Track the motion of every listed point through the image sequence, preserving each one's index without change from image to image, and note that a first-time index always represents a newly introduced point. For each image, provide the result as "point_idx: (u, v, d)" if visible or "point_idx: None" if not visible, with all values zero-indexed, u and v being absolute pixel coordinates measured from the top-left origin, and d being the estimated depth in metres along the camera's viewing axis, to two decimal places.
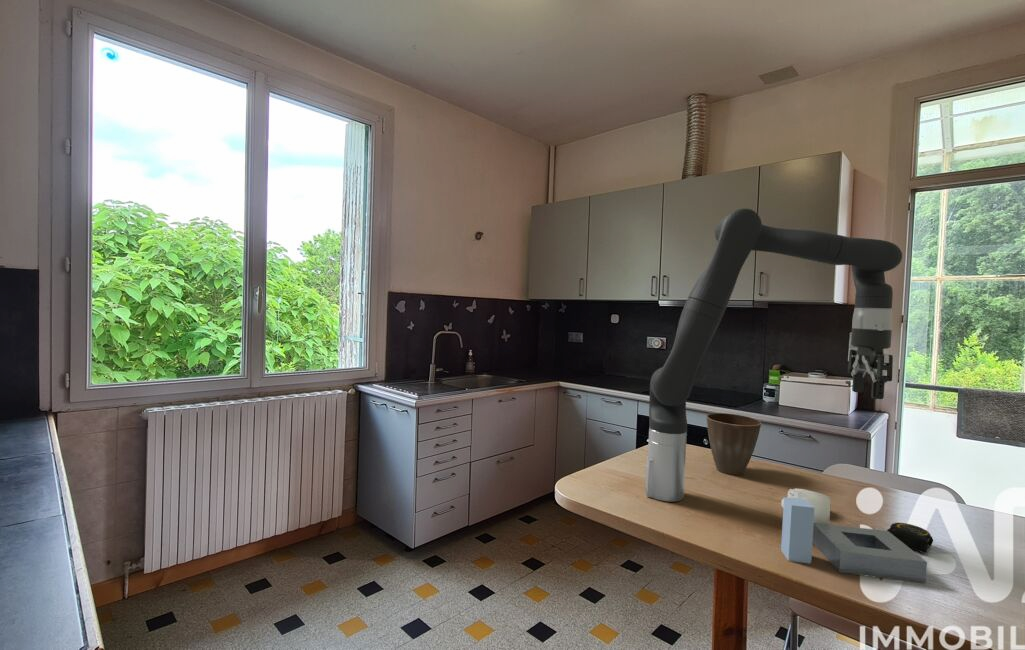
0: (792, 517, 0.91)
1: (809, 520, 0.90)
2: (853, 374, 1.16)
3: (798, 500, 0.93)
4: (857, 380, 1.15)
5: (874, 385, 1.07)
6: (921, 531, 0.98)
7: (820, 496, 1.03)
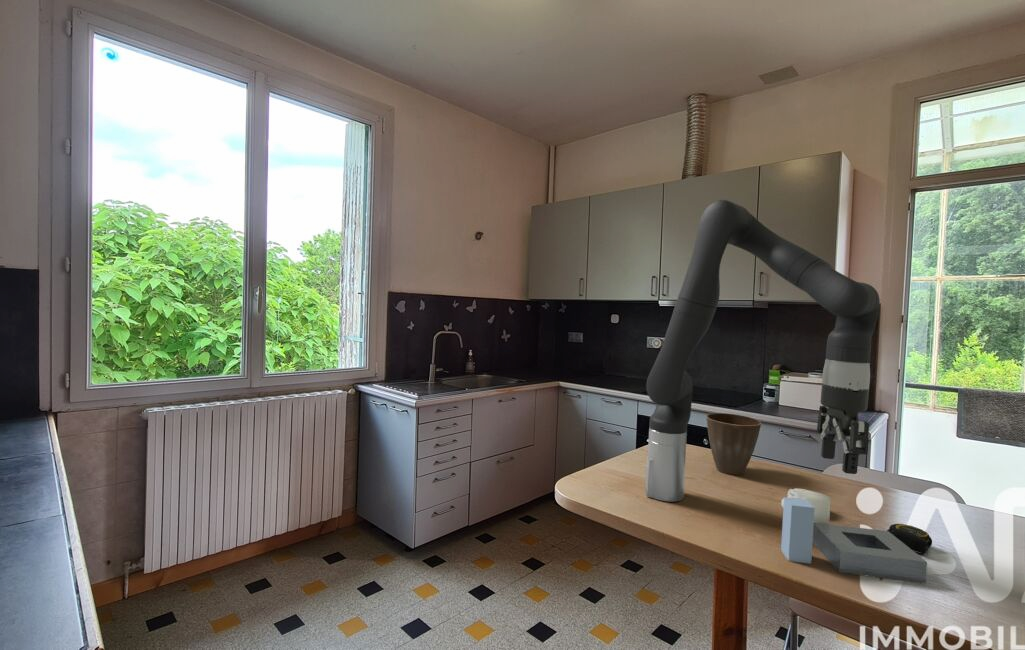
0: (792, 517, 0.91)
1: (809, 520, 0.90)
2: (823, 436, 0.96)
3: (798, 500, 0.93)
4: (827, 444, 0.96)
5: (846, 457, 0.88)
6: (920, 532, 0.97)
7: (820, 496, 1.03)
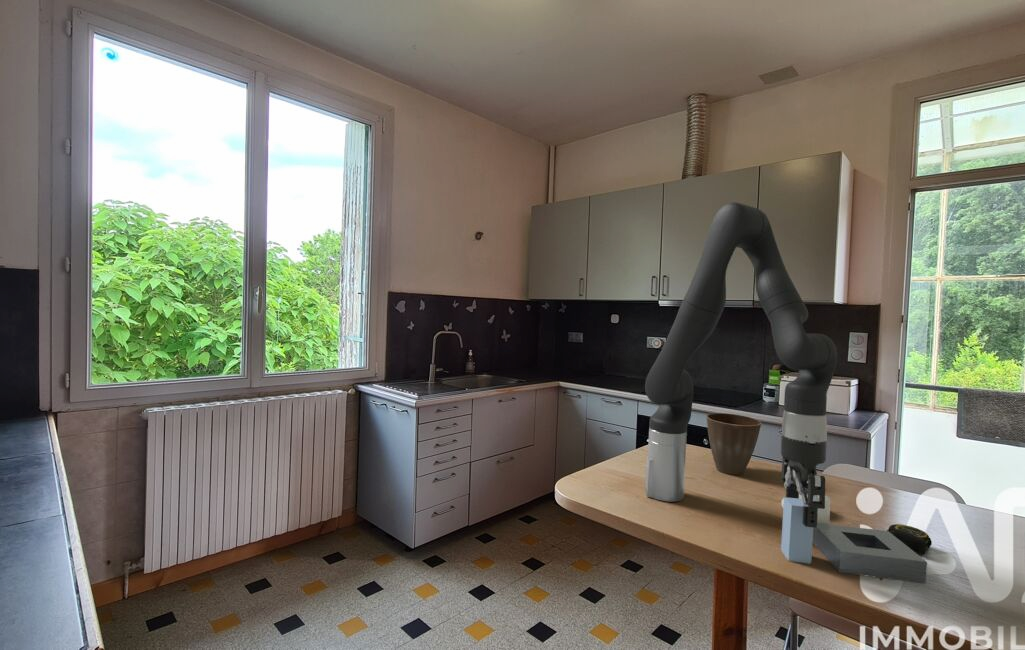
0: (792, 517, 0.91)
1: None
2: (786, 486, 0.96)
3: (798, 500, 0.93)
4: (791, 494, 0.96)
5: (805, 510, 0.88)
6: (919, 533, 0.97)
7: None
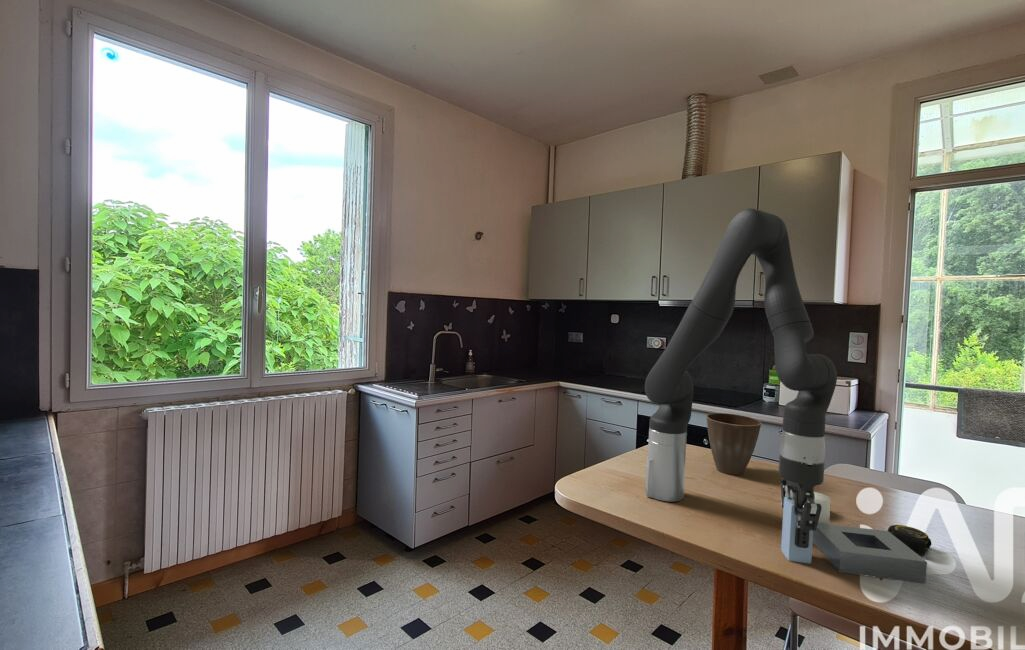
0: (792, 517, 0.91)
1: None
2: None
3: None
4: None
5: (797, 531, 0.90)
6: (919, 533, 0.97)
7: (820, 496, 1.03)
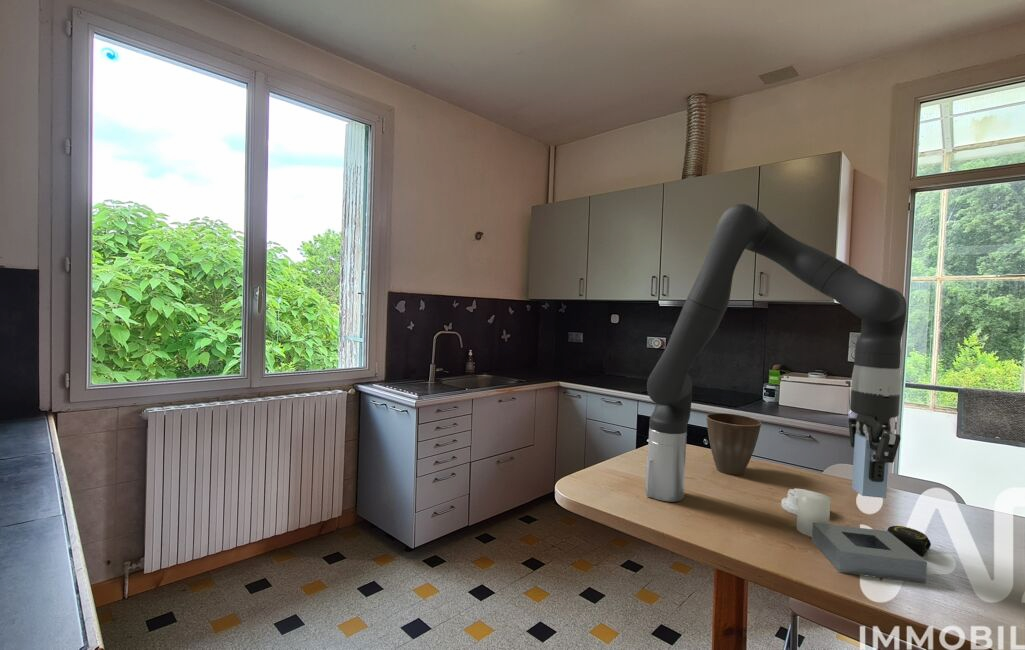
0: (867, 451, 0.89)
1: None
2: None
3: None
4: None
5: (872, 465, 0.89)
6: (918, 535, 0.96)
7: (820, 496, 1.03)
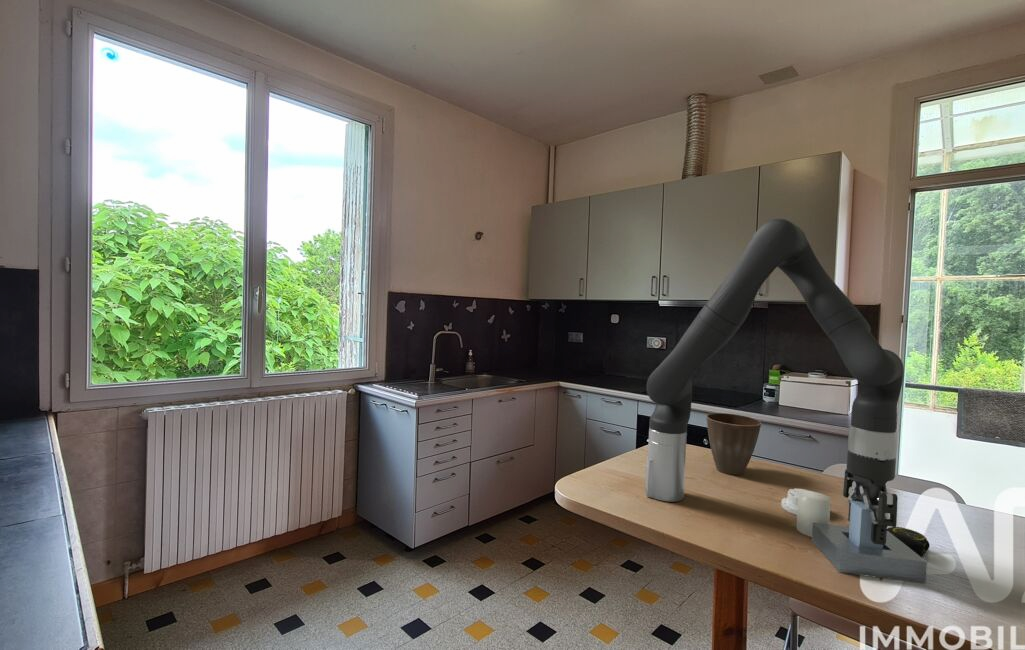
0: (862, 520, 0.90)
1: None
2: (849, 502, 0.96)
3: None
4: None
5: (874, 527, 0.87)
6: (917, 536, 0.96)
7: (820, 496, 1.03)
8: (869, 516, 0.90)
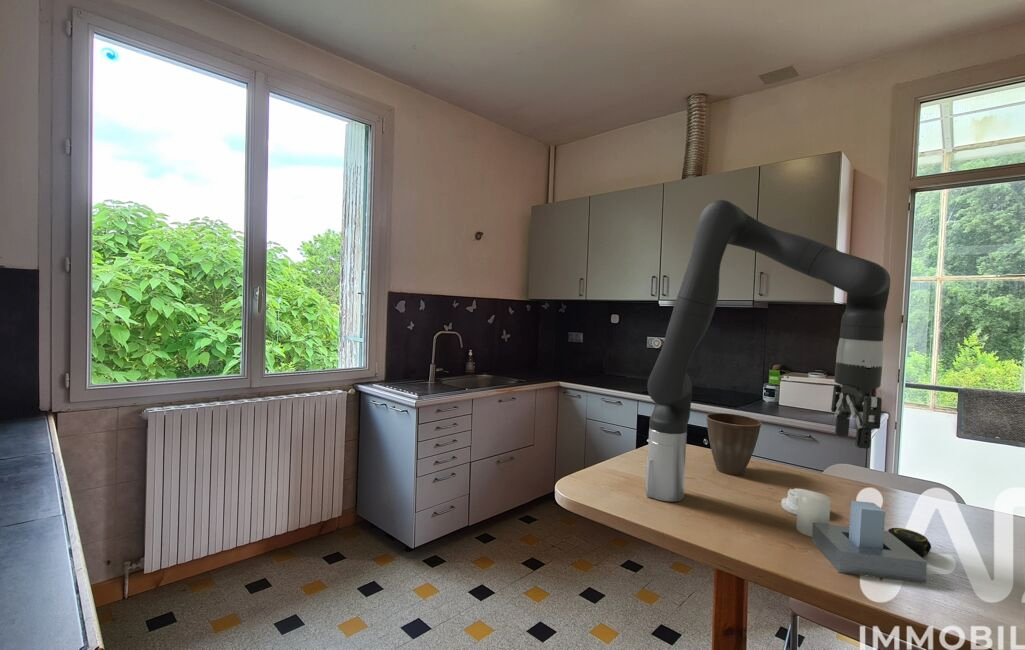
0: (862, 520, 0.90)
1: (880, 524, 0.89)
2: (837, 414, 0.99)
3: (866, 503, 0.92)
4: (841, 422, 0.99)
5: (859, 432, 0.90)
6: (918, 537, 0.95)
7: (820, 496, 1.03)
8: (869, 516, 0.90)
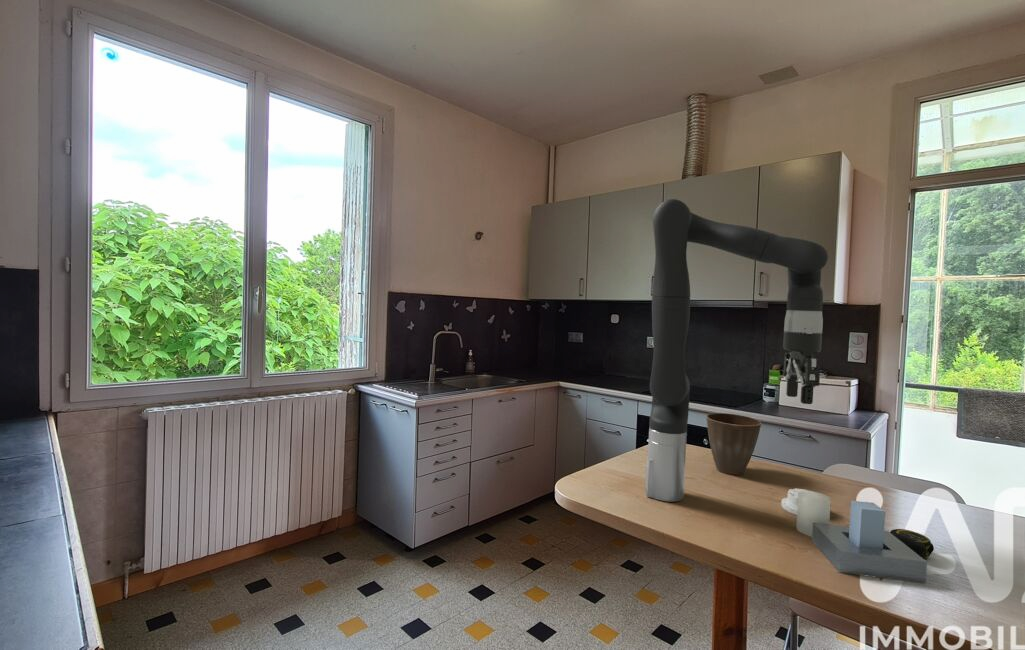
0: (862, 520, 0.90)
1: (880, 524, 0.89)
2: (787, 378, 1.13)
3: (866, 503, 0.92)
4: (791, 384, 1.13)
5: (803, 390, 1.04)
6: (921, 538, 0.95)
7: (820, 496, 1.03)
8: (869, 516, 0.90)
